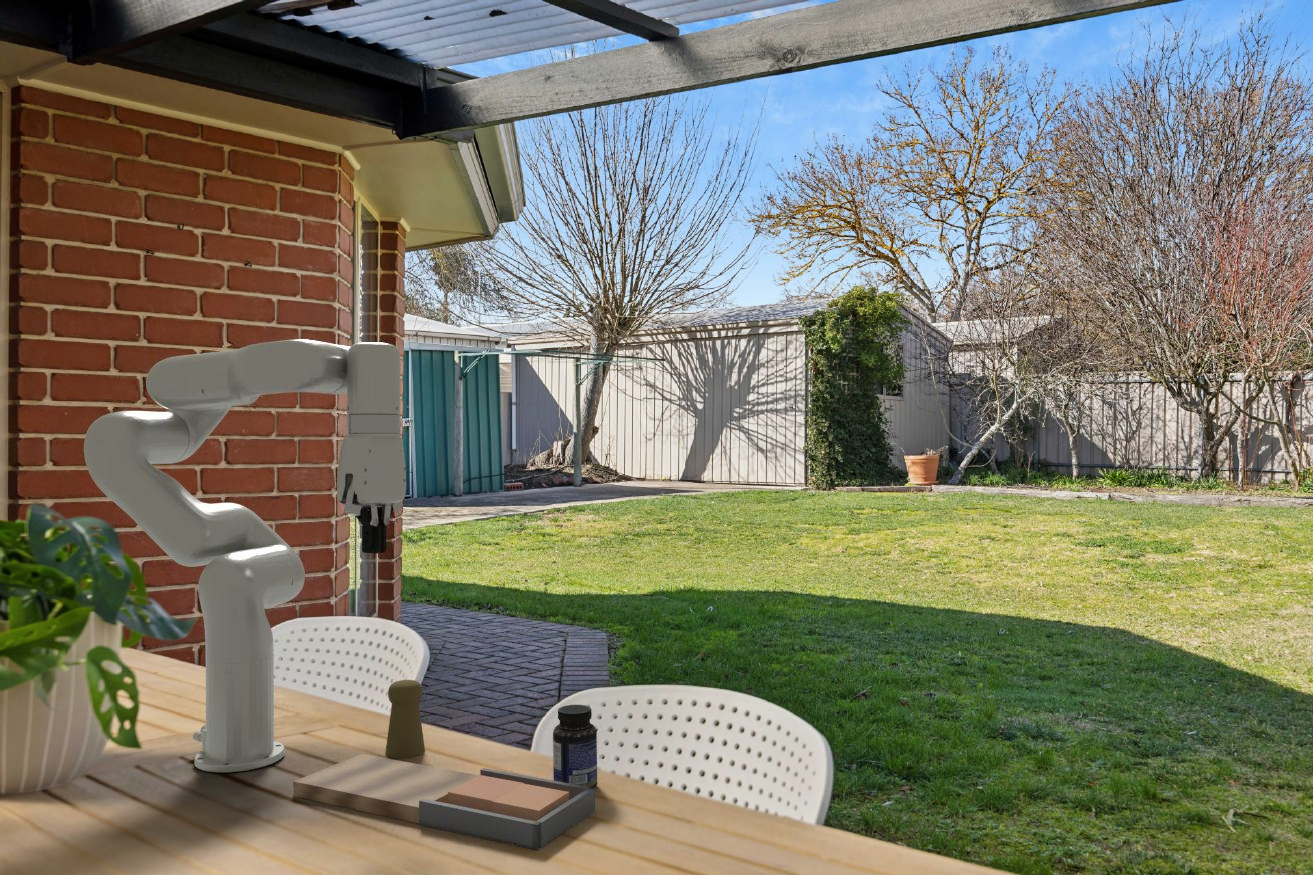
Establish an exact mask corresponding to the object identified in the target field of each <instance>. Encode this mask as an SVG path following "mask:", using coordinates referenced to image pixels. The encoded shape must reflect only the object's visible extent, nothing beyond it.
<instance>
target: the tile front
mask: <svg viewBox="0 0 1313 875" xmlns="http://www.w3.org/2000/svg"><path fill="white" fill-rule="evenodd" d="M567 801H569V792H567V791H561V790H556V789H550V788H545V787H539V786H534V785H528V784H522V785H520V786H518V787H517V788H515V789H513V790H511V791H509V792H508V793H506V794H504V795H502V796H501V797H499V798H497V799H495V800H493V801H492V813H497V814H501V815H506V816H511V817H516V818H521V819H526V820H531V821H537V820H539V819H541V818H542V817H544V816H545V815H547V814H548V813H550V812H552V811H553V810H555V809H556V808H558V807H559V806H561V805H563V804H564V803H566V802H567Z"/></svg>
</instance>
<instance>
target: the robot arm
mask: <svg viewBox="0 0 1313 875" xmlns="http://www.w3.org/2000/svg"><path fill="white" fill-rule="evenodd" d="M145 387H146V390H147V393H148V396H150V398H151V399H152V400H153V401H154V403H156V404H157V405H159V406H160V407H163V408H165V409H167V410H166V411H148V410H146V411H145V410H121V411H116V412H115V411H114V412H110V413H107V414H104V415H102V416H100V417H99V418H97V419H95V420H94V421H93V422H92V423H91V424H90V425H89V427H88V429H87V430H86V433H85V437H84V442H83V443H84V444H83V453H84V454H83V455H84V461H85V465H86V468H87V471H88V474H89V475H90V477H91V479H92V480H93V482H94V483H95V485H96V487H97V488H98V489H99V490H100V491H101V492H102V493H103V494H104V495H105V496H106V497H107V498H108V499H109V500H110V501H112V502H113V503H114V504H115V505H117V507H118V508H120V509H121V510H122V511H124V512H125V514H127V515H128V516H129V517H130V518H131V519H132V520H133V521H134V522H135V524H136V525H138V527H139V528H141V530H142V531H143V532H144V533H146V535H147V536H148V537H149V538H150V539H151V540H152V541H154V543H155V544H156V545H157V546H158V547H159V548H160V550H162V551H163V552H164V553H165V554H166V555H168V556H169V557H170V558H171V559H172V560H173V561H174V562H175V563H177V564H178V565H181V566H184V567H190V568H191V567H201V566H205V567H204V568H203V570H202V572H201V573H200V577H199V579H198V588H197V591H198V599H199V603H200V607H201V608H200V609H201V613H202V617H203V623H204V624H203V625H204V626H203V627H204V638H205V642H204V645H205V724H204V725H202V727H201V728H200V731H196V732H194V733H193V735H192V739H193V741H195V742H201V745H202V746H201V751H199V752H198V753H196V755H195V756H194V766H195V767H196V768H197V769H199V770H201V771H204V772H208V773H209V772H210V773H235V772H236V773H237V772H238V773H239V772H244V771H250V770H255V769H259V768H263V767H266V766H269V765H272V764H275V763H277V762H278V761H280V760H281V759H282V758H283V757H284V756H285V753H286V752H285V745H284V744H283V743H281V742H279V741H275V739H274V738H275V733H274V732H275V731H274V730H275V724H274V722H275V721H274V720H275V715H274V714H275V711H274V710H275V709H274V708H275V704H274V703H275V702H274V701H275V695H274V693H275V692H274V691H275V690H274V689H275V688H274V686H275V684H274V682H275V681H274V680H275V674H274V672H275V670H274V668H275V666H274V665H275V664H274V662H275V661H274V660H275V659H274V658H275V657H274V656H275V654H274V635H273V632H272V628H271V625H270V623H269V620H268V617H267V615H266V610H265V609H268V608H273V607H276V606H279V605H282V604H286V603H287V602H290V601H291V600H293V599H295V598H296V597H297V596H298V595H299V594H300V593H301V591H302V590H303V587H304V584H305V582H306V581H305V579H306V572H305V567H304V564H303V562H302V559H301V558H300V556H299V555H298V554H297V553H296V551H295V550H294V549H293V548H292V547H291V546H290V545H289V544H288V543H287V542H286V541H285V540H284V539H283V538H282V537H281V536H280V535H279V534H278V533H277V532H276V531H274V529H272V528H271V526H269V525H268V523H266V521H264V520H263V519H262V518H261V517H260V516H259V515H258V514H256V512H255V511H253V510H251V509H250V508H247V507H246V506H244V505H242V504H239V503H235V502H216V503H215V502H214V503H207V502H203V501H201V500H199V499H198V498H196V497H195V496H193V495H192V494H191V492H189V491H188V490H187V489H186V488H185V487H184V486H183V485H182V484H181V483H180V482H179V481H178V480H177V479H175V478H174V477H173V476H171V475H169V474H167V473H166V472H164V471H162V470H160V469H159V468H157V467H155V466H153V465H164V464H165V465H166V464H167V465H169V464H176V463H177V464H178V463H180V462H183V461H185V460H187V459H188V458H190V457H191V456H193V455H194V454H195V453H196V452H197V451H198V449H200V448H201V446H202V445H203V444H204V442H205V441H207V439H208V438H209V436H210V435H211V434H212V433H213V431H214V430H215V428H217V427H218V425H219V424H220V422H222V420H223V419H224V417H225V416H226V415H227V414H228V413H229V412H230V410H231V408H232V407H237V406H247V405H251V404H253V403H255V402H256V401H257V400H258V399H259V397H261V396H262V395H263V396H264V395H266V396H267V395H271V394H272V395H273V394H283V393H284V394H285V393H314V394H325V395H335V396H336V395H346V414H347V415H346V433H347V435H346V436H343V438H342V442H341V445H340V451H339V458H338V467H337V480H336V481H337V483H336V484H337V486H336V491H337V492H336V497H337V502H338V503H339V504H342V505H345V506H344V513H345V514H347V515H351V516H355V518H356V519H357V522H358V523H357V524H358V525H359V526H361V550H362V553H363V554H364V553H365V554H376V555H377V554H381V553H382V554H383V553H386V552H387V526H388V525H389V524H390V520H391V519H390V518H391V516H392V515H393V513H395V512H397V511H399V510H401V509H402V506H403V505H402V504H403V503H402V501H403V500H404V499H405V497H406V493H407V492H406V491H407V478H406V477H407V473H406V471H407V469H406V459H405V450H404V443H403V439H402V436H401V428H402V422H401V354H400V350H399V348H398V347H397V346H396V345H394V344H392V343H391V344H390V343H386V342H369V341H368V342H367V341H366V342H357V343H353V344H352V345H350V346H347V345H343V344H335V343H331V342H330V343H329V342H324V341H318V340H312V339H311V340H310V339H302V338H301V339H299V338H297V339H286V340H278V341H277V340H275V341H268V342H259V343H254V344H248V345H246V346H243V347H240V348H237V349H231V350H220V351H212V352H203V353H193V354H184V355H176V356H171V357H167V358H164V359H162V360H160V361H158V362H157V363H155V364H154V365H153V366H152V367H151V368H150V370H149V371H148V373H147V375H146V378H145Z"/></svg>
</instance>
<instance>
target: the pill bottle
mask: <svg viewBox="0 0 1313 875" xmlns="http://www.w3.org/2000/svg"><path fill="white" fill-rule="evenodd" d="M592 717H593V714H592V708H591V706H589V705H587V704H586V705H585V704H569V705H568V704H567V705H564V706H561V707H559V708H558V709H557V719H558V720H559V724H557V725H556V726H554V729H553V732H552V761H553V764H552V768H553V769H552V770H553V781H559V782H564V783H570V784H576V785H581V786H587V787H592V788H595V789H596V788H597V787H598V746H597V745H598V740H597V739H598V736H597V734H598V733H597V728H596V726H595V725H594V724H593V723H591V719H592Z"/></svg>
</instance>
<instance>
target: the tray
mask: <svg viewBox="0 0 1313 875" xmlns="http://www.w3.org/2000/svg"><path fill="white" fill-rule="evenodd" d="M479 772H480V774H479V775H483V776H488V777H494V778H499V779H505V780H510V781H515V782H521V783H524V784H528V785H534V786H539V787H545V788H550V789H556V790H561V791H567V792H569V801H567V802H566V803H564V804H563V805H561V806H559V807H558V808H556V809H555V810H553V811H552V812H550V813H548V814H547V815H545V816H544V817H542V818H541V819H539V820H537V821H531V820H526V819H521V818H516V817H511V816H506V815H501V814H497V813H492V812H487V811H482V810H477V809H472V808H467V807H462V806H457V805H452V804H447V803H442V802H437V801H432V800H428V799H421V800H419V823H418V824H419V826H425V827H430V828H433V829H438V830H442V831H447V832H452V833H456V834H461V835H466V836H469V837H474V838H480V839H482V840H488V841H493V842H496V843H497V842H498V843H501V842H503V844H507V845H511V844H513V845H512V846H515V845H516V847H520V846H522V847H521V848H525V849H529V850H533V851H534V850H535V851H540V850H541V849H542V848H544V847H545V846H547V845H548V844H549V843H551V842H552V841H554V840H555V839H557V838H558V837H560V836H561V835H563V834H564V833H566V832H567V831H568V830H570V829H572V827H574V826H576V825H578V824H579V823H580V822H581V821H583V820H584V819H586V818H587V817H589V816H590V815H592V814H593V813H595V812H596V788H592V787H587V786H581V785H576V784H570V783H564V782H559V781H554V779H548V778H541V777H537V776H531V775H525V774H518V773H513V772H507V771H504V770H498V769H491V768H485V767H483V768H480V770H479ZM562 833H563V834H562ZM559 835H560V836H559ZM546 844H547V845H546ZM543 846H544V847H543ZM540 848H541V849H540Z"/></svg>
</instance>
